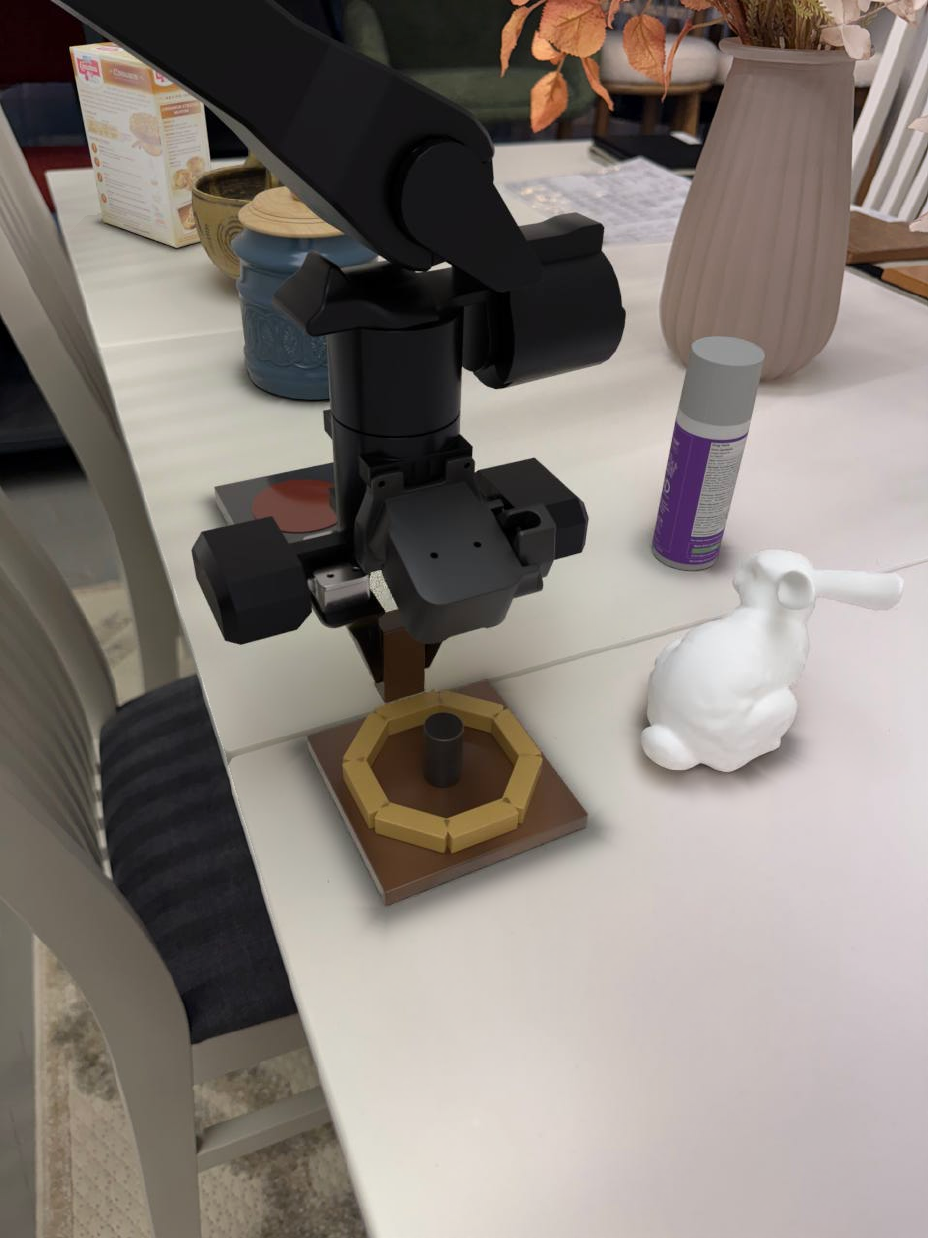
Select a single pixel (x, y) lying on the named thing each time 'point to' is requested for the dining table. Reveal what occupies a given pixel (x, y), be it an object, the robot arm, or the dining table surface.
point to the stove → (283, 501)
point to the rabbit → (747, 663)
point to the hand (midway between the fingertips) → (399, 671)
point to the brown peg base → (441, 796)
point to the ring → (409, 679)
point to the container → (706, 450)
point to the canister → (267, 259)
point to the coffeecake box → (141, 143)
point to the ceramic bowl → (227, 207)
